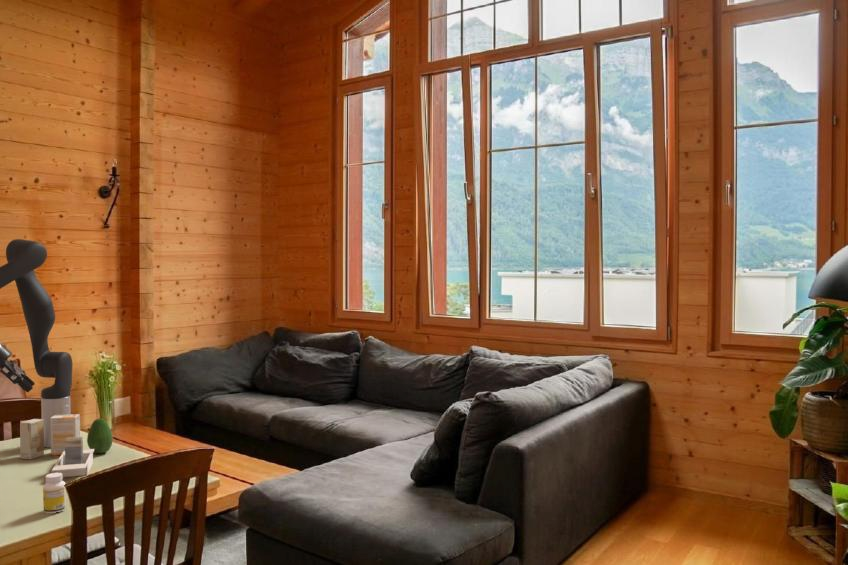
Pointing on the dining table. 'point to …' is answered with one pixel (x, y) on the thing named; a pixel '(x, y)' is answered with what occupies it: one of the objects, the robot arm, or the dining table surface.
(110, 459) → the dining table surface
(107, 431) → the avocado
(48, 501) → the supplement bottle
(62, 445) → the supplement box
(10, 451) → the dining table surface
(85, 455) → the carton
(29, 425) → the skincare box
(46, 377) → the robot arm
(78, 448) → the capped block
